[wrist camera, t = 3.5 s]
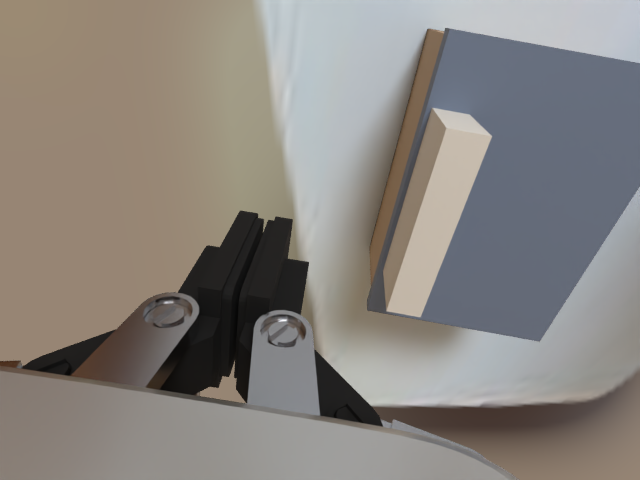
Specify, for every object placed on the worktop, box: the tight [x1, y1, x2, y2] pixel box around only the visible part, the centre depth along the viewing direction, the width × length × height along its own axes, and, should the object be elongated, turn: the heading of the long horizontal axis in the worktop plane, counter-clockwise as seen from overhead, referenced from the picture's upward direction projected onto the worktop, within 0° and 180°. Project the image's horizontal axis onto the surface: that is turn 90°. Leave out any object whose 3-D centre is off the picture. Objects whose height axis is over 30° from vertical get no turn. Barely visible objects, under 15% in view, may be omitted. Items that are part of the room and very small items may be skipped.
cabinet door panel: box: [367, 28, 640, 341], centre depth 16 cm, size 9×13×4 cm
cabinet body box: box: [370, 29, 444, 285], centre depth 20 cm, size 9×13×5 cm
